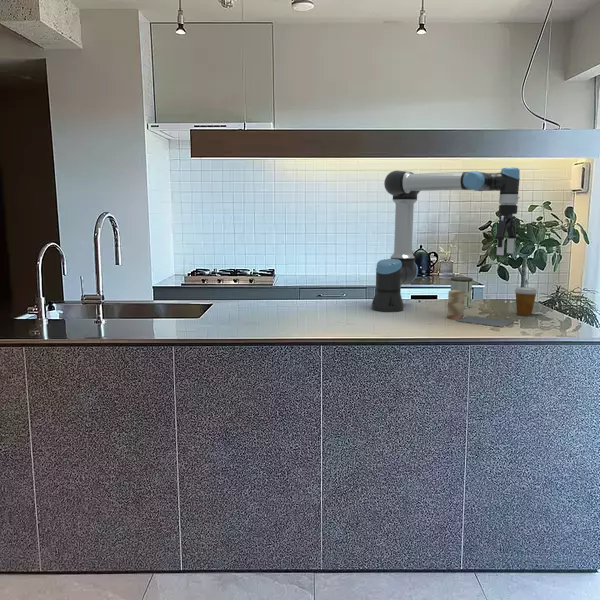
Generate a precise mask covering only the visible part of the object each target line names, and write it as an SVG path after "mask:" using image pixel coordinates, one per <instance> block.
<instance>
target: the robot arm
mask: <svg viewBox="0 0 600 600" xmlns="http://www.w3.org/2000/svg"><path fill="white" fill-rule="evenodd" d="M520 174H521V173H520V168H518V167H514V166H513V167H502V168H501V170H500V172H481V171H478V170H471V171H458V172H456V171H454V172H430V173H429V172H423V173H414V172H412V171H405V170H393V171H391V172H389V173H388V174H387V175H386V176H385V178H384V183H383V185H384V188H385V190H386V192H387V194H389V195H391V196H392V201H393V202H394V203H395V210H394V212H395V215H394V216H395V217H394V242H393V243H394V244H393V245H394V247H393V254H392V255H391V256H390V258H386V259H381V260H378V261H377V263H376V268H375V294H374V296H373V299H372V302H371V310H373V309H374V310H373V311H377V310H378V312H388V313H389V312H392V313H393V312H402V311H403V310H405V308H404V307H405V306H404V305H405V304H404V301H403V298H402V294H401V290H402V289H401V286H403V285H407V284H410V283H412V282H414V280H416V278H417V276H418V273H419V268H418V264H416V261H415V260H416V258H415V256H414V254H413V236H414V235H413V233H414V232H413V231H414V210H415V209H414V205H415V203H416V202H417V201H418V195H419V193H420V192H422V191H424V192H425V191H426V192H429V191H474V192H488V191H489V192H490V191H491V192H492V191H493V192H494V191H497V192H499V200H498V204H499V205H498V214H499V220H498V226H497V230H496V233H495V237H494V239H495V240H496V241H497V243H496V256H504V253H505V252H504V251H505V239H504V238H505V236H506V234H507V237H508V238H507V243H506V254H514V249H515V239H517V229H516V214H517V213H518V207H519V206H518V205H517V204H518V203H519V199H520V196H519V190H520V181H521V178H520ZM501 214H502V215H501ZM513 214H514V215H513Z"/></svg>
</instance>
